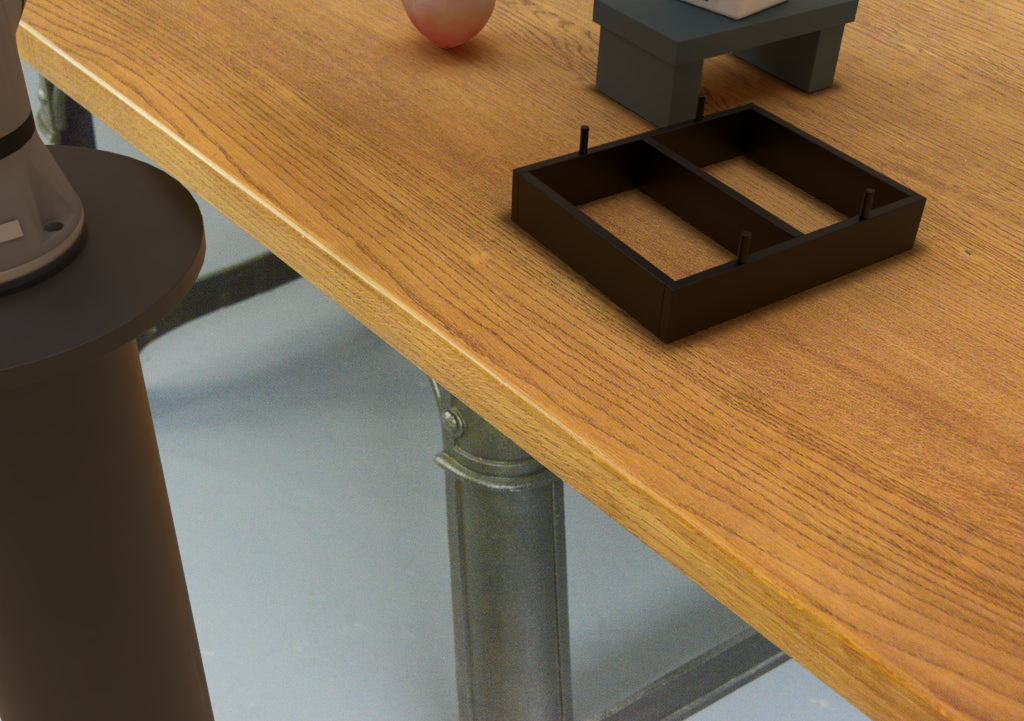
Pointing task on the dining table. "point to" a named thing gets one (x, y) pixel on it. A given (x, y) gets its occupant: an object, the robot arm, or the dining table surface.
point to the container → (735, 6)
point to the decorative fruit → (449, 19)
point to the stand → (710, 49)
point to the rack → (714, 215)
